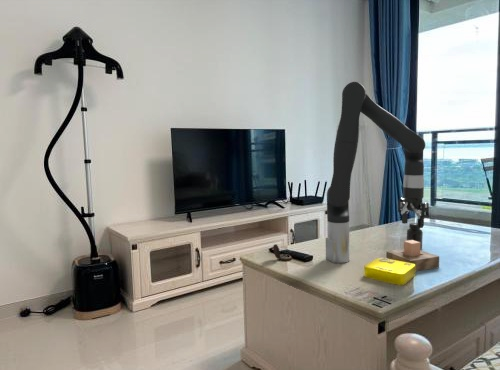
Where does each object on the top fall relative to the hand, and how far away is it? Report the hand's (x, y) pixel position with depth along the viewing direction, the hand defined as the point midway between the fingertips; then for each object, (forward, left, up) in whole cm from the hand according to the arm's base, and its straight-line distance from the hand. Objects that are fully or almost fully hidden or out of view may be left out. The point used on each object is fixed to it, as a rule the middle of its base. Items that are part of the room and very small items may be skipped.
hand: (412, 225), depth 144 cm
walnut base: (0, 0, -16) cm, 16 cm away
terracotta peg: (0, 0, -15) cm, 15 cm away
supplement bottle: (+17, +17, -17) cm, 29 cm away
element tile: (-16, -6, -17) cm, 24 cm away
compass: (-45, +28, -17) cm, 56 cm away
